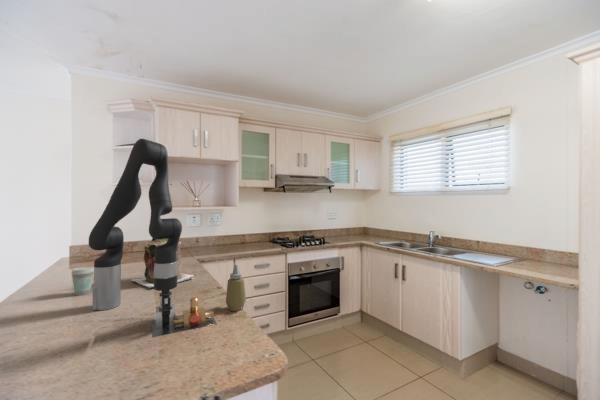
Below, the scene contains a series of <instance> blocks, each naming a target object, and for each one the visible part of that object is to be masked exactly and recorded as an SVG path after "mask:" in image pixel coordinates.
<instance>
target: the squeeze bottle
mask: <svg viewBox="0 0 600 400" xmlns="http://www.w3.org/2000/svg"><path fill="white" fill-rule="evenodd" d="M238 266H239V265H238V264H234V266H233V269H232V273H230V274H229V279H228V280H227V286H226V295H225V303H226V306H227V310H229V311H230V312H238V311H242V310H243V309H242V308H244V307H245V302H246V300H247V298H246V288H245V279H244V278H243V277H242V274H243V273H241V272H239V271H240V270H239V267H238ZM241 307H242V308H241Z"/></svg>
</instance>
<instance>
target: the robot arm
mask: <svg viewBox="0 0 600 400" xmlns="http://www.w3.org/2000/svg"><path fill="white" fill-rule="evenodd" d="M168 156H169V154H168V149H167V148H166V146H165V145H164V144H162V143H158V142H156V141H153V140H149V139H147V138H139V139H138V140H136V141H135V143H134V144H133V147H132V149H131V152H130V154H129V157H128V159H127V162H126V165H125V167H124V169H123V172H122V174H121V176H120V178H119V180H118V183H117V184H116V186H115V188H114V190H113V192H112V194H111V196H110V197H109V199H108V200H109V201H108V203H107V204H106V207H105V209H104V211H103V212H102V214H101V215H100V218H99V219H98V220H97V221H96V223H95V225H94V226H93V228H92V229H91V231H90V233H89V236H88V246H89V248H90V249H92V250H94V251H104V250H105V252H104V253H103V254H102V255H100V256H99V257H97V258H95V259H94V262H93V269H94V272H93V286H92V311H105V310H109V309H110V310H111V309H114V308H117V307H118V306H120V305H121V303H122V302H121V300H122V298H121V297H122V295H121V294H122V293H121V292H122V286H121V285H122V280H121V279H122V278H121V277H122V259H123V254H124V240H125V239H124V233H123V230H122V228H120V227H119V226H115V225H116V224H118V223H119V222H120V221H122V220H123V219H124V218H125V217H126V216H128V215H129V214H130V213H131V212H132V211H133V210H134V209H135V208H136V206H137V205H138V202H139V201H140V199H141V196H142V186H141V183H140V179H139V173H140V170H141V168H142V166H143V165H148V166H152V167H154V170H155V177H154V179H153V181H152V182H151V185H150V187H149V188H148V189H149V190H148V200H149V205H150V219H149V224H148V225H149V226H148V233H149V235H150V237H151V238H154V239H164V238H169V239H168V241H167V242H166V243H165V244H163V245H160V246H157V247H156V248H155V264H154V287H153V290H154V291H158V292H159V291H160V292H159V293H158V295H159V296H158V297H159V305H160V308H161V309H162V313H161V315H162V326H168V325H169V315H170V313H171V312H170V307H171V304H172V299H173V298H172V297H173V292H172V291H170V290H173V289H176V288H177V287H178V282H177V262H176V255H177V254H176V251H177V246H178V242H180V238H181V235H182V230H183V225H182V224H183V223H181V221H180V220H179V219H178V218H175V217H173V218H172V217H171V218H161V216H165V215H168V214H170V213H172V212H173V204H172V203H173V202H172V199H171V194H170V187H169V157H168ZM164 309H168V311H165V312H164Z"/></svg>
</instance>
